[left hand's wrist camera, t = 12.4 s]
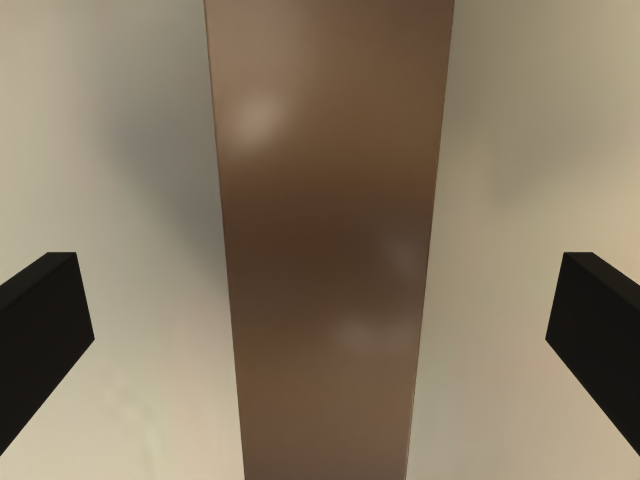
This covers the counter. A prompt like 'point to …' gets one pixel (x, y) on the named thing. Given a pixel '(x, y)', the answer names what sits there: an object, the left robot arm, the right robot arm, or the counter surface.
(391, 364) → the bar
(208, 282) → the counter surface
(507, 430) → the counter surface
